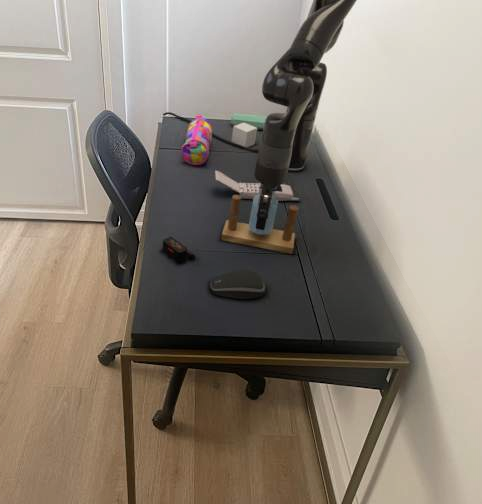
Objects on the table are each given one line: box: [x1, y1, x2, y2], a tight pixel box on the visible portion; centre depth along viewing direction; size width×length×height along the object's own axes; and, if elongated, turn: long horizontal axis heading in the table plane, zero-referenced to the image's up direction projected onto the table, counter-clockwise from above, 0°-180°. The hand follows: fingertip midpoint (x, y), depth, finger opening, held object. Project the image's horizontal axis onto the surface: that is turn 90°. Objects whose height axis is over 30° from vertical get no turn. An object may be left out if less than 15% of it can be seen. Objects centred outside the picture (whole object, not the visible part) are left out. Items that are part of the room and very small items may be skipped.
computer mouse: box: [209, 268, 266, 300], centre depth 108 cm, size 7×12×4 cm, turn 94°
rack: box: [220, 194, 299, 255], centre depth 123 cm, size 18×7×11 cm, turn 79°
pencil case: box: [180, 114, 213, 166], centre depth 161 cm, size 22×9×9 cm, turn 178°
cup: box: [248, 195, 279, 235], centre depth 122 cm, size 6×6×8 cm
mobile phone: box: [214, 170, 300, 202], centre depth 143 cm, size 6×6×25 cm
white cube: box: [231, 123, 258, 148], centre depth 172 cm, size 6×6×6 cm
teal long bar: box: [230, 112, 268, 131], centre depth 185 cm, size 6×6×25 cm
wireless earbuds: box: [162, 236, 196, 263], centre depth 116 cm, size 5×7×3 cm, turn 44°
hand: (261, 219), depth 123 cm, fingers open, 8 cm apart
